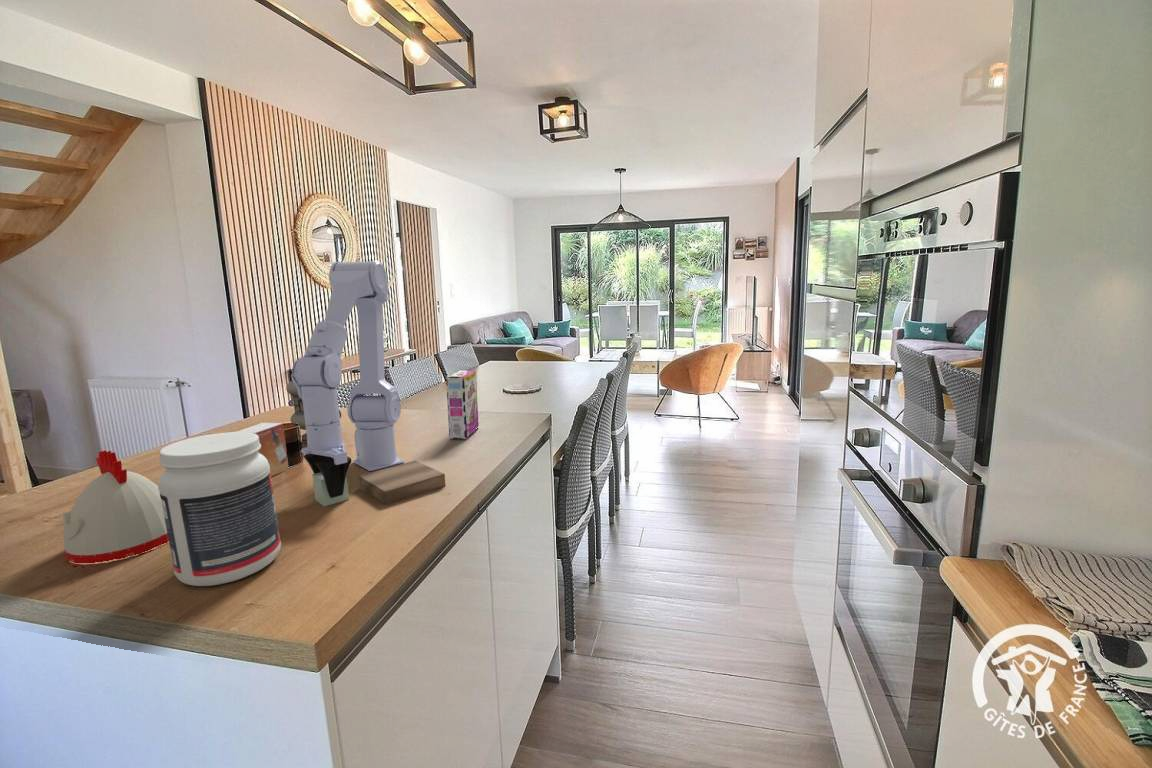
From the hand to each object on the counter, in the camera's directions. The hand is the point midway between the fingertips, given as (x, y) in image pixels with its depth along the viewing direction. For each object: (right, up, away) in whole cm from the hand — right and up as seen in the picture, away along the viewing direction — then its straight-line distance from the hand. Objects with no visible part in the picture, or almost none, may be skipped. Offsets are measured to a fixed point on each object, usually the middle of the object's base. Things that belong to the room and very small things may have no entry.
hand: (331, 492), depth 98 cm
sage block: (0, -1, 0) cm, 1 cm away
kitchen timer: (-26, -5, -14) cm, 30 cm away
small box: (-21, +1, +15) cm, 26 cm away
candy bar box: (+16, +7, +42) cm, 45 cm away
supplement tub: (-4, -6, -22) cm, 24 cm away
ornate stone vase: (-23, +6, +42) cm, 48 cm away
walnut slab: (+11, -1, +6) cm, 13 cm away
